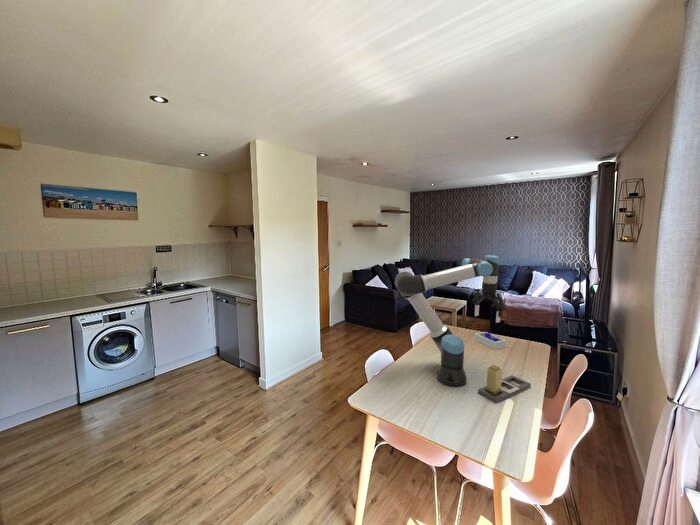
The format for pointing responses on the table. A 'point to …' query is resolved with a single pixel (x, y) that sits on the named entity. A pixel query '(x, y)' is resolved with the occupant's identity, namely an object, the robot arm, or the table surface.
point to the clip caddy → (490, 341)
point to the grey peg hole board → (504, 393)
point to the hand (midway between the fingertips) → (486, 318)
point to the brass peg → (494, 380)
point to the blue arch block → (487, 335)
